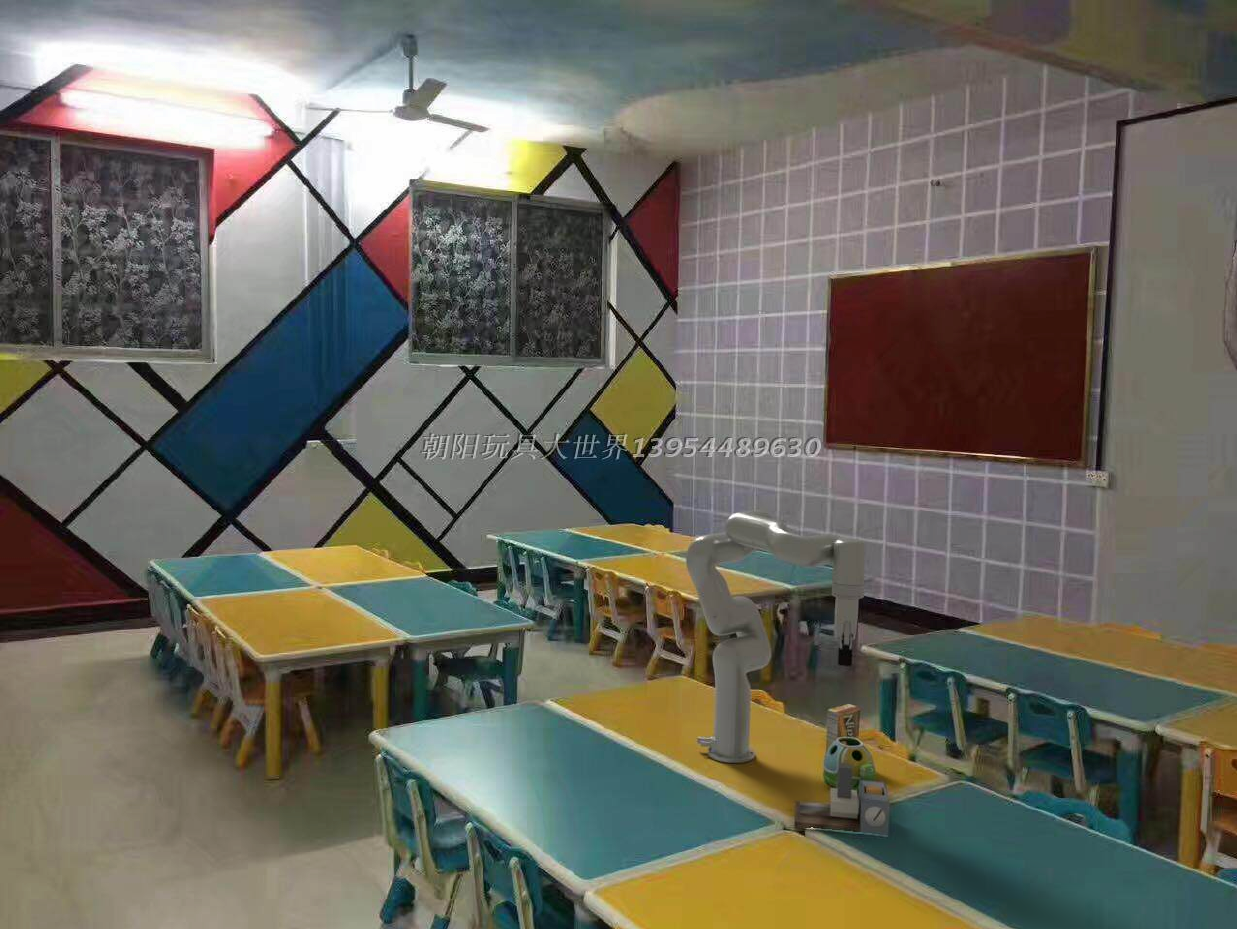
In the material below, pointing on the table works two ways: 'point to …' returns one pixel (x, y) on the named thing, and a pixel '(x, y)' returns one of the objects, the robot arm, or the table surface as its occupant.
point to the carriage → (844, 794)
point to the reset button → (874, 790)
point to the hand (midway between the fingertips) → (844, 664)
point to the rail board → (822, 818)
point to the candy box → (842, 723)
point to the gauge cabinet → (874, 808)
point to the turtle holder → (848, 761)
